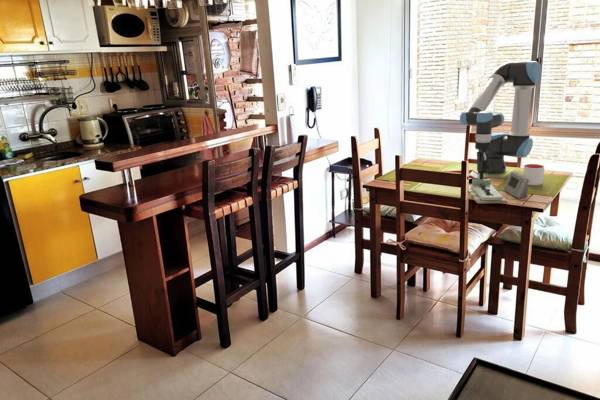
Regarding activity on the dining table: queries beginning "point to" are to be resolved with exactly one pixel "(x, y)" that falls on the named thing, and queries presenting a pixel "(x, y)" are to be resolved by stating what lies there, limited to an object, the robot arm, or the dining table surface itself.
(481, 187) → the board
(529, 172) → the cup
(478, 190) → the panel
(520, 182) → the digital clock
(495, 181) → the dining table surface
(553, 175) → the dining table surface
